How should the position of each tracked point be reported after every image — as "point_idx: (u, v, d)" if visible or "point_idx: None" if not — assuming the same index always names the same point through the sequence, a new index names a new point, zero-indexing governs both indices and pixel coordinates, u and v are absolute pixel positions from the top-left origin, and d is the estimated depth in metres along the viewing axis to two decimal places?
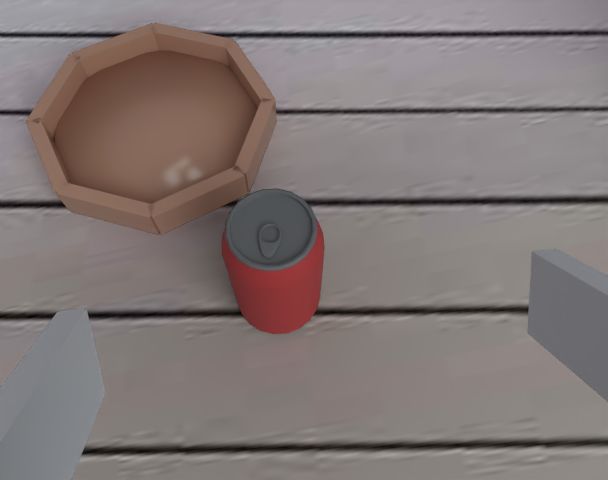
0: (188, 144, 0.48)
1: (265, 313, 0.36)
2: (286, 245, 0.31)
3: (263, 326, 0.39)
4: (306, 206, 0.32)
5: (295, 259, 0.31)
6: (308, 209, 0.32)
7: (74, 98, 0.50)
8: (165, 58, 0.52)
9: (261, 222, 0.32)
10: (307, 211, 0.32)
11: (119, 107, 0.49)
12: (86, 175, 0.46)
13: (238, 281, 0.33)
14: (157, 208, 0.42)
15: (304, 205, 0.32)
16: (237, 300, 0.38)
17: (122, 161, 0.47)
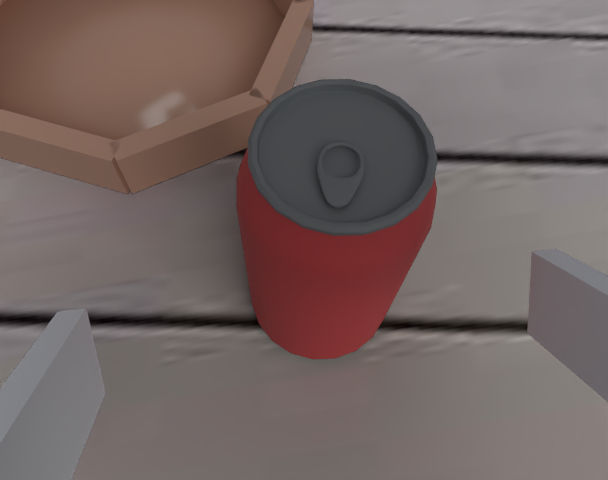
0: (179, 63, 0.31)
1: (309, 326, 0.20)
2: (373, 186, 0.15)
3: (297, 347, 0.23)
4: (411, 112, 0.16)
5: (397, 212, 0.14)
6: (416, 116, 0.16)
7: None
8: None
9: (319, 140, 0.16)
10: (413, 123, 0.16)
11: (78, 9, 0.33)
12: (19, 100, 0.30)
13: (268, 259, 0.16)
14: (125, 147, 0.26)
15: (407, 110, 0.16)
16: (255, 300, 0.22)
17: (77, 82, 0.30)
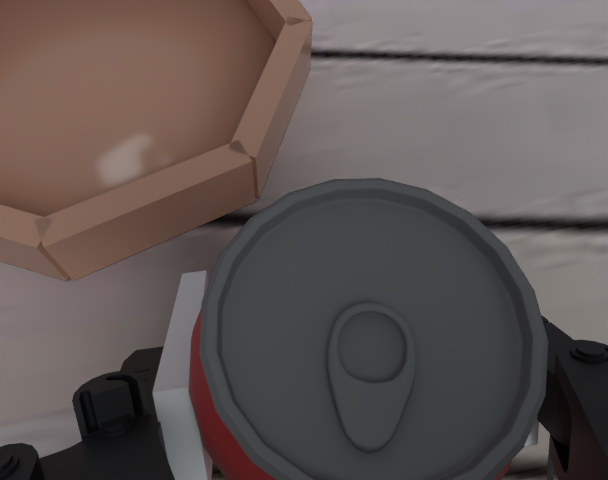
0: (141, 102, 0.24)
1: None
2: (433, 394, 0.08)
3: None
4: (493, 242, 0.09)
5: (487, 466, 0.07)
6: (501, 252, 0.09)
7: None
8: None
9: (332, 298, 0.09)
10: (496, 262, 0.09)
11: (15, 32, 0.26)
12: None
13: None
14: (57, 227, 0.19)
15: (485, 239, 0.09)
16: None
17: (6, 129, 0.23)
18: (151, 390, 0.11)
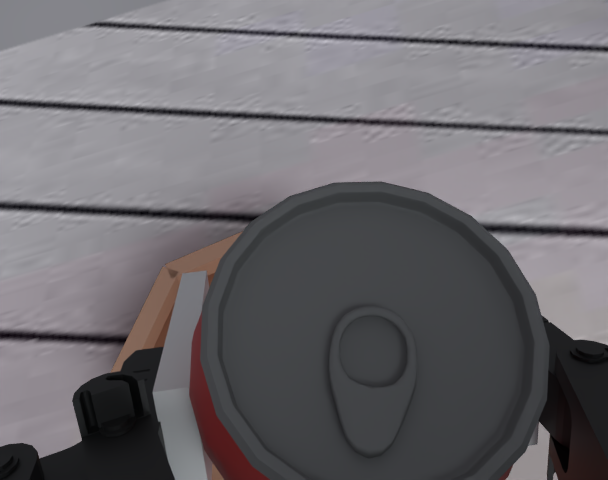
0: None
1: None
2: (434, 398, 0.08)
3: None
4: (494, 246, 0.09)
5: (488, 471, 0.07)
6: (502, 256, 0.09)
7: (166, 326, 0.36)
8: None
9: (332, 302, 0.09)
10: (497, 265, 0.09)
11: None
12: None
13: None
14: None
15: (486, 242, 0.09)
16: None
17: None
18: (151, 390, 0.11)
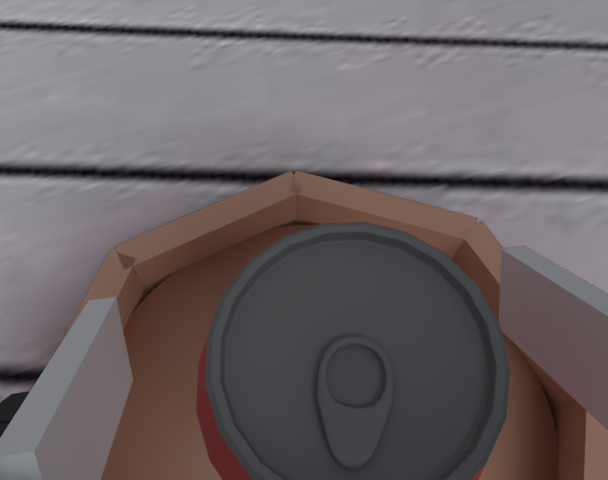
0: None
1: None
2: (408, 417, 0.09)
3: None
4: (463, 280, 0.10)
5: None
6: (471, 290, 0.10)
7: None
8: None
9: (321, 331, 0.10)
10: (466, 297, 0.10)
11: None
12: None
13: None
14: None
15: (456, 277, 0.10)
16: None
17: None
18: None
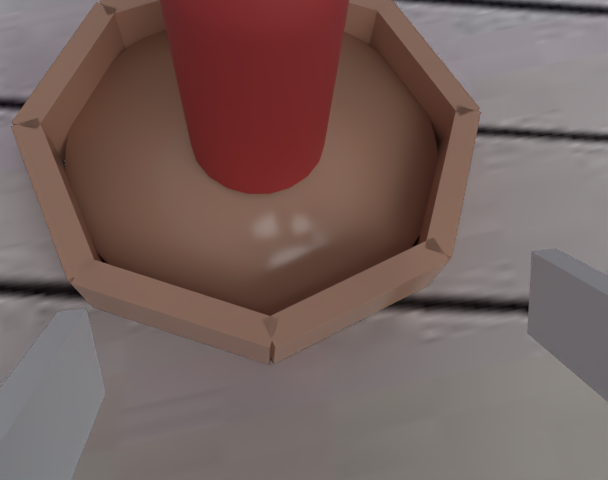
0: (316, 184, 0.26)
1: (236, 131, 0.20)
2: None
3: (231, 175, 0.23)
4: None
5: None
6: None
7: (101, 84, 0.27)
8: None
9: None
10: None
11: None
12: (126, 236, 0.24)
13: (184, 27, 0.17)
14: (284, 326, 0.20)
15: None
16: (188, 121, 0.22)
17: (194, 210, 0.25)
18: None
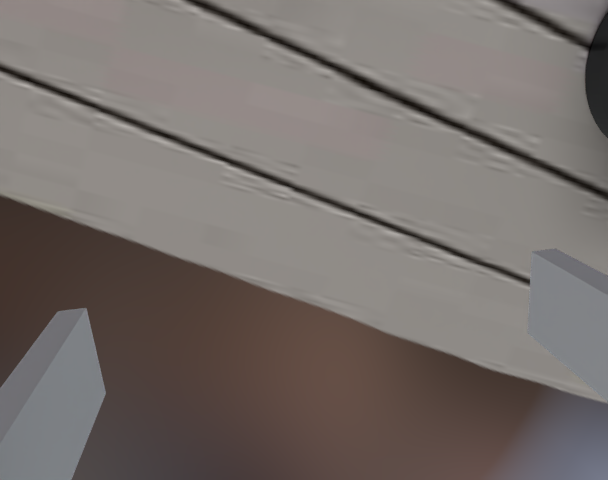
0: None
1: None
2: None
3: None
4: None
5: None
6: None
7: None
8: None
9: None
10: None
11: None
12: None
13: None
14: None
15: None
16: None
17: None
18: None
